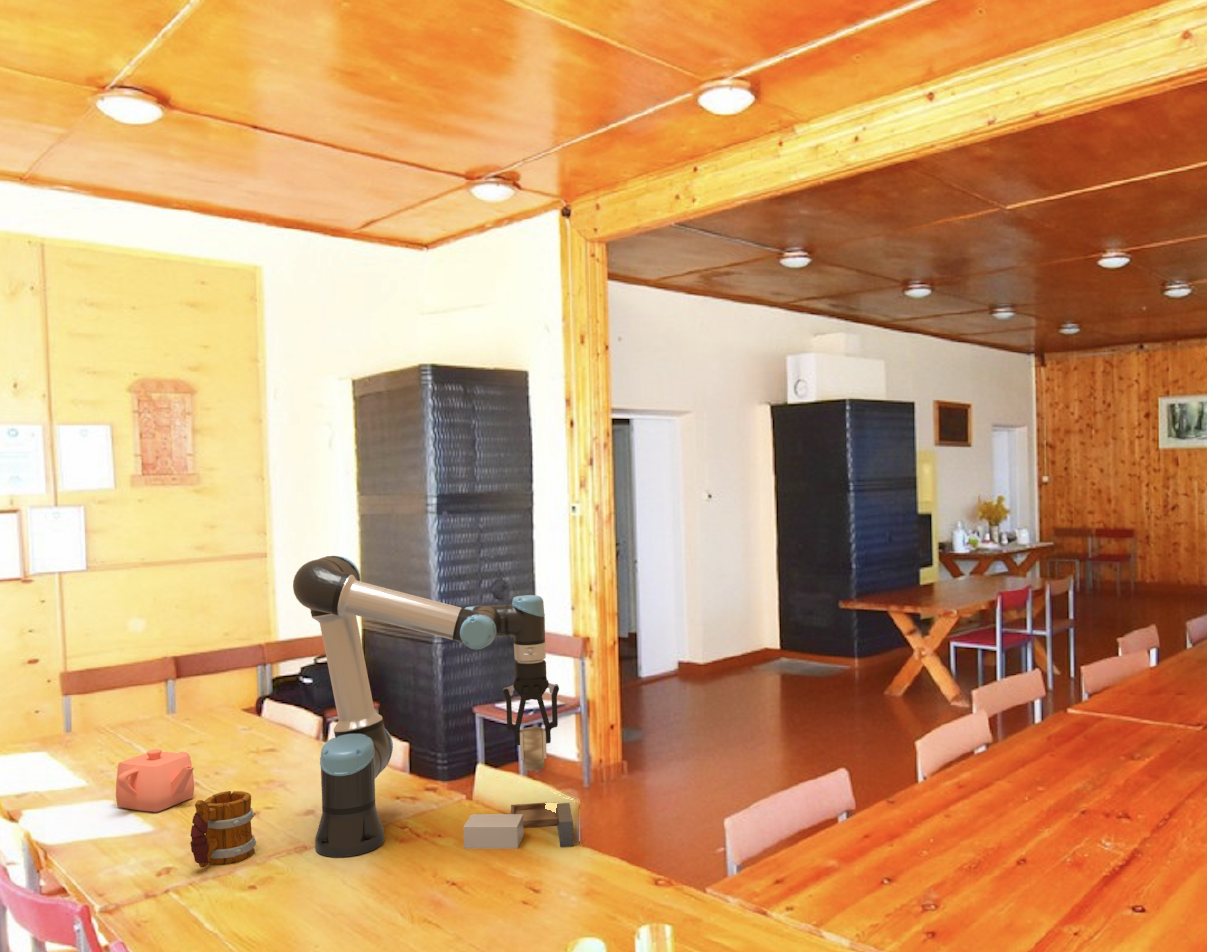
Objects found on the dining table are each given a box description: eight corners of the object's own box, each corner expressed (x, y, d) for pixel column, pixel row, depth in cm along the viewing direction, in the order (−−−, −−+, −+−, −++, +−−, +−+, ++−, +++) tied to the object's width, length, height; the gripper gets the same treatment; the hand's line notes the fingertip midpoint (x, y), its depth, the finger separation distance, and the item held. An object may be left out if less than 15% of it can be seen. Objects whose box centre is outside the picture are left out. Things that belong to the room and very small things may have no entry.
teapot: (98, 815, 237) (96, 760, 237) (168, 787, 258) (166, 737, 258) (156, 823, 230) (155, 766, 230) (224, 794, 250) (222, 742, 250)
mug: (266, 848, 211) (264, 781, 212) (214, 878, 196) (212, 806, 196) (227, 843, 215) (225, 778, 215) (173, 872, 199) (171, 802, 200)
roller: (523, 771, 222) (522, 733, 222) (523, 764, 227) (521, 727, 227) (544, 769, 223) (543, 731, 223) (544, 763, 228) (542, 726, 228)
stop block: (560, 847, 207) (559, 822, 207) (557, 827, 219) (556, 803, 219) (573, 846, 207) (572, 821, 207) (570, 826, 219) (569, 802, 219)
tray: (510, 828, 219) (510, 821, 219) (511, 811, 230) (510, 804, 230) (560, 825, 220) (560, 818, 220) (558, 808, 231) (558, 801, 231)
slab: (464, 849, 208) (463, 827, 208) (472, 836, 216) (471, 814, 216) (517, 849, 207) (516, 827, 207) (523, 836, 215) (523, 814, 215)
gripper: (492, 665, 221) (496, 764, 221) (568, 661, 222) (571, 759, 222) (493, 659, 228) (496, 755, 228) (566, 655, 230) (569, 751, 230)
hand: (533, 757), depth 225 cm, fingers closed on roller, 5 cm apart
